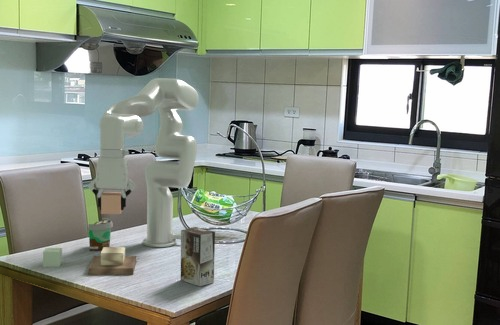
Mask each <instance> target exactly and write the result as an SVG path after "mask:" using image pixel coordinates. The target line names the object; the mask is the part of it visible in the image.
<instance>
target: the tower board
mask: <svg viewBox="0 0 500 325" xmlns="http://www.w3.org/2000/svg"><path fill="white" fill-rule="evenodd" d="M136 265H137V255H125V260H124V264H123V265H101V255H94V256H93V257H92V259H91V262H90V263H89V265H88V267H87V275H88V276H89V275H134V272H135V267H136Z"/></svg>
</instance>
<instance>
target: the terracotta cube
mask: <svg viewBox="0 0 500 325" xmlns="http://www.w3.org/2000/svg"><path fill="white" fill-rule="evenodd" d="M121 198H122V194H121V192H120V191H103V193H102V195H101V210H100V214H101V215H107V214H108V215H121V213H122V212H123V210H121Z"/></svg>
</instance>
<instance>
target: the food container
mask: <svg viewBox="0 0 500 325" xmlns="http://www.w3.org/2000/svg"><path fill="white" fill-rule="evenodd" d="M101 219H102V220H100V221H95V223H91V224H90V223H89V224H88V228H87V230H88V238H89V252H102V251H101V250H102V249H103V247H111V246H110V244H111V243H110V242H111V231H112V228H113V227H114V225H113V221H112V220H111V218H108V217H102V218H101Z"/></svg>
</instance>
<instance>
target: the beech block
mask: <svg viewBox="0 0 500 325" xmlns="http://www.w3.org/2000/svg"><path fill="white" fill-rule="evenodd" d="M100 256H101V265H123V264H124V260H125V256H126V247H125V246H110V247H103V249H102V251H100Z"/></svg>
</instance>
